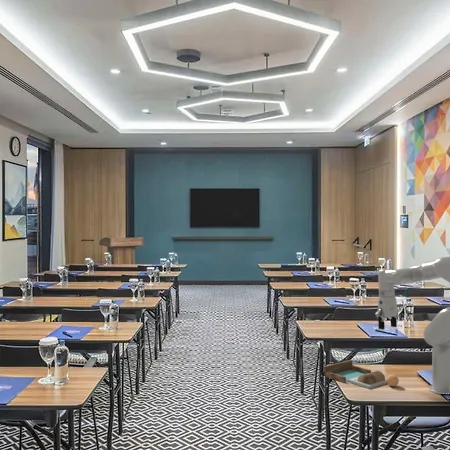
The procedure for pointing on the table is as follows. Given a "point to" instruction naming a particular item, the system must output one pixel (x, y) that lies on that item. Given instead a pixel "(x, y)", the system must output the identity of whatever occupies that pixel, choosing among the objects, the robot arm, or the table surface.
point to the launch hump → (371, 377)
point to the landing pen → (342, 370)
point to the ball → (392, 380)
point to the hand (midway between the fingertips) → (387, 328)
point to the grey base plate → (354, 381)
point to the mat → (350, 374)
